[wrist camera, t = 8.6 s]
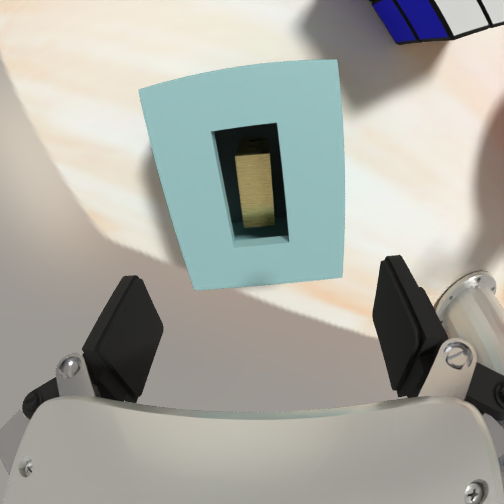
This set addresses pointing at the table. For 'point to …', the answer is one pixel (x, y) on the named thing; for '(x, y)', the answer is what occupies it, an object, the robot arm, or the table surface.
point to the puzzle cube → (437, 18)
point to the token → (255, 182)
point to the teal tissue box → (225, 173)
